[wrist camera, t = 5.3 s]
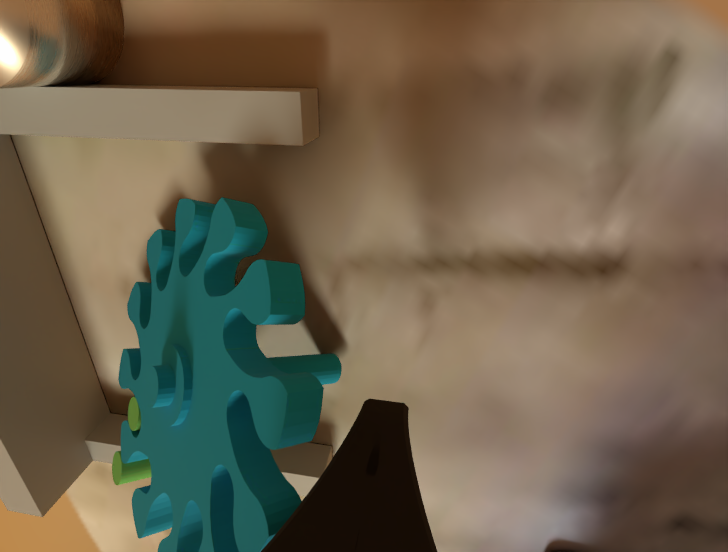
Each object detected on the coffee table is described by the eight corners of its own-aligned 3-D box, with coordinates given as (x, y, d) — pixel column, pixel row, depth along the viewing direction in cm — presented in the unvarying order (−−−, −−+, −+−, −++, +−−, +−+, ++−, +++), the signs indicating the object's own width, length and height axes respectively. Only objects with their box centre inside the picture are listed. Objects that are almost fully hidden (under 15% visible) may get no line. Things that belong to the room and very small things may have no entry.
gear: (196, 99, 10) (323, 595, 5) (371, 166, 14) (524, 477, 10) (83, 327, 16) (99, 645, 12) (227, 326, 20) (280, 561, 16)
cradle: (332, 466, 17) (304, 568, 14) (87, 428, 19) (7, 510, 16) (317, 88, 11) (256, 100, 7) (-52, 81, 13) (-244, 89, 9)
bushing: (139, 85, 12) (50, 91, 9) (28, 82, 12) (-86, 88, 10) (104, -78, 10) (-16, -128, 8) (-22, -73, 11) (-176, -118, 8)
